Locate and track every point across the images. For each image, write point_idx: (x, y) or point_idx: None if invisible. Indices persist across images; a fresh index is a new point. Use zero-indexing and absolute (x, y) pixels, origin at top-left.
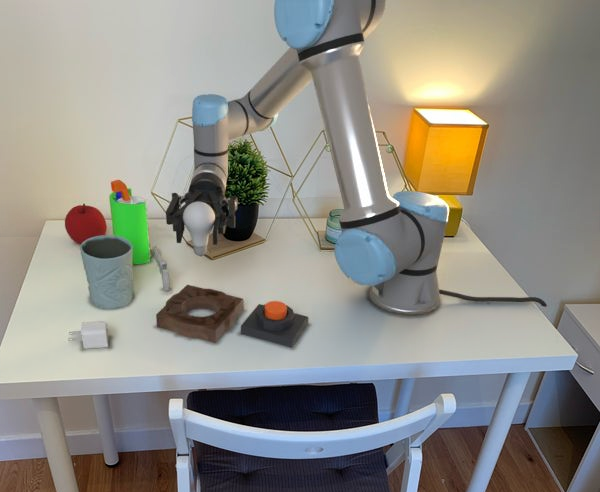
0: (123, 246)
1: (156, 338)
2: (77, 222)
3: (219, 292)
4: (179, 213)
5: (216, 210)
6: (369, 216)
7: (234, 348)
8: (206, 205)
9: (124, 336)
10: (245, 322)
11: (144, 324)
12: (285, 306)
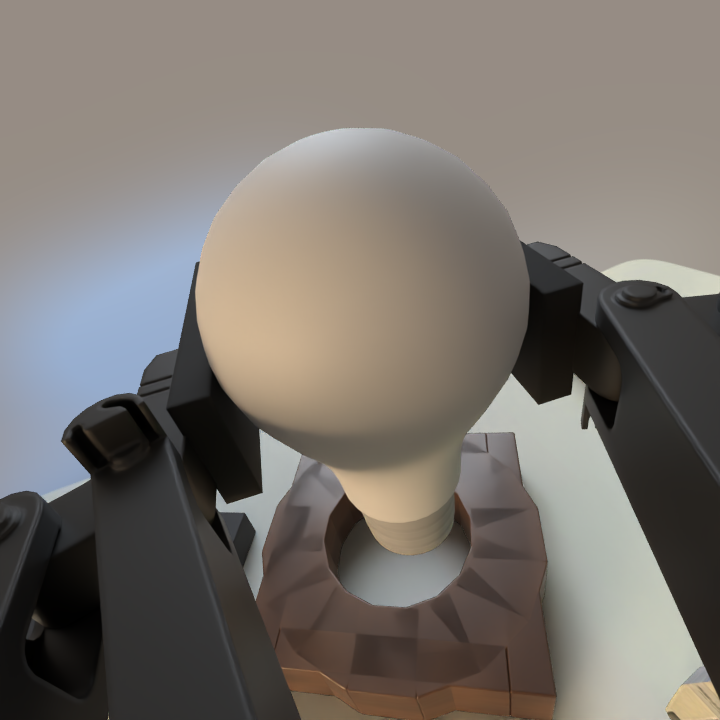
0: None
1: (480, 426)
2: None
3: (357, 676)
4: (622, 302)
5: (205, 569)
6: None
7: (267, 468)
8: (238, 184)
9: (564, 402)
10: (230, 534)
11: (560, 462)
12: None
